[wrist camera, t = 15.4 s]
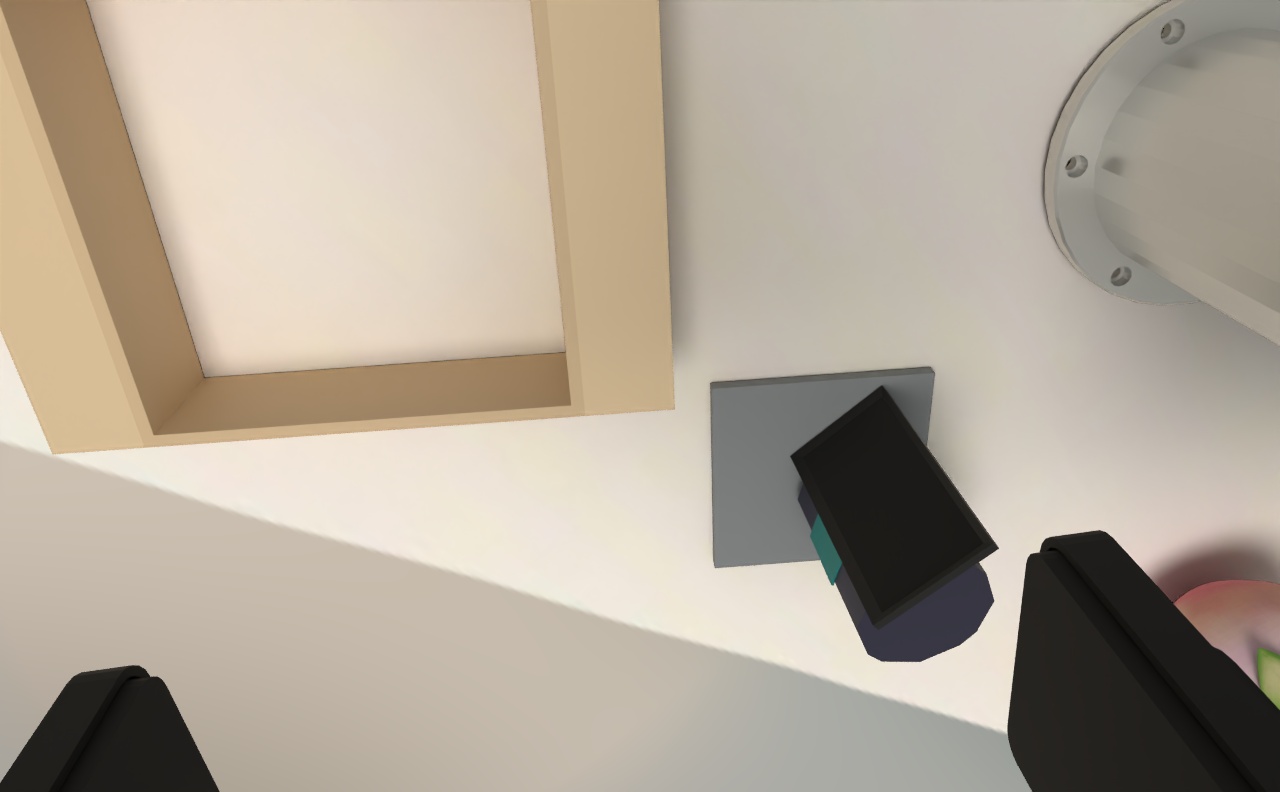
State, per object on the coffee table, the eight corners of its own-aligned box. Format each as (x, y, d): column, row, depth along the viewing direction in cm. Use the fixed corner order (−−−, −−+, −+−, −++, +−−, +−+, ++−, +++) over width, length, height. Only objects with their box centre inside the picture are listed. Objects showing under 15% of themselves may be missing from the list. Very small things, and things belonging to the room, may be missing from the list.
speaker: (764, 431, 40) (840, 594, 31) (884, 382, 39) (996, 533, 31) (809, 544, 44) (888, 716, 35) (919, 501, 43) (1026, 664, 35)
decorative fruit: (1304, 603, 48) (1468, 755, 39) (1168, 683, 50) (1294, 844, 41) (1230, 501, 44) (1392, 642, 35) (1087, 592, 46) (1206, 746, 38)
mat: (930, 367, 40) (934, 372, 39) (910, 545, 44) (914, 552, 44) (710, 382, 39) (711, 389, 39) (713, 560, 44) (714, 568, 44)
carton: (645, -83, 31) (655, -87, 26) (664, 355, 39) (674, 409, 34) (-48, -42, 30) (-157, -39, 26) (114, 394, 38) (52, 454, 34)
